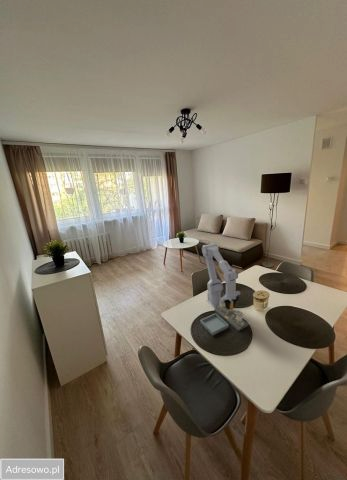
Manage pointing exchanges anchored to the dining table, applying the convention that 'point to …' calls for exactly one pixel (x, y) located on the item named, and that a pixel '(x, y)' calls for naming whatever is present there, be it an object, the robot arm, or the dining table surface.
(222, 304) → the fuse
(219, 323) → the tray
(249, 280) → the dining table surface
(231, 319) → the fuse block
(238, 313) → the fuse
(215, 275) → the robot arm
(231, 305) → the marked fuse
